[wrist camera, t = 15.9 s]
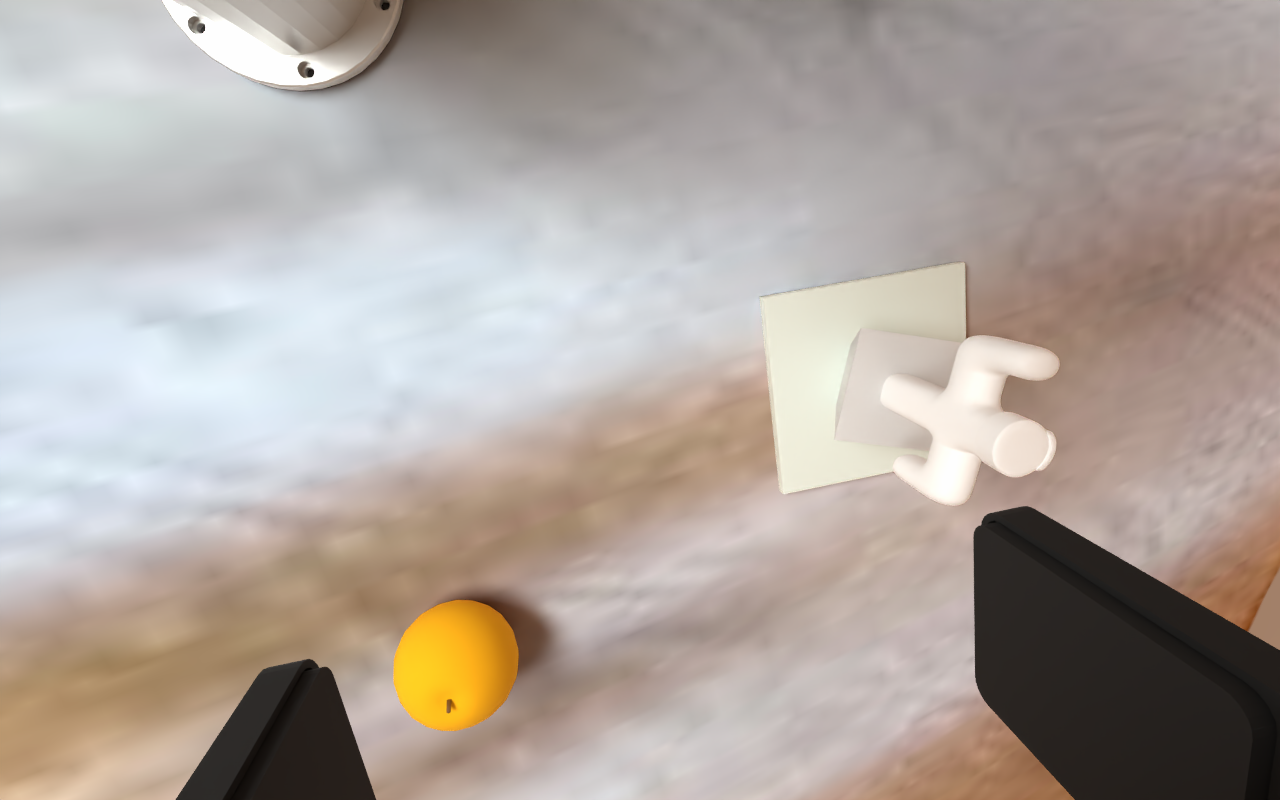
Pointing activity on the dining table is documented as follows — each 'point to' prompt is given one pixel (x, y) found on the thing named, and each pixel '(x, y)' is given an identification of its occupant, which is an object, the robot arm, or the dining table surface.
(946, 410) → the figurine
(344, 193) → the dining table surface
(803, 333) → the cream board
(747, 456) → the dining table surface
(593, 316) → the dining table surface
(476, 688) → the apple
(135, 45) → the dining table surface
